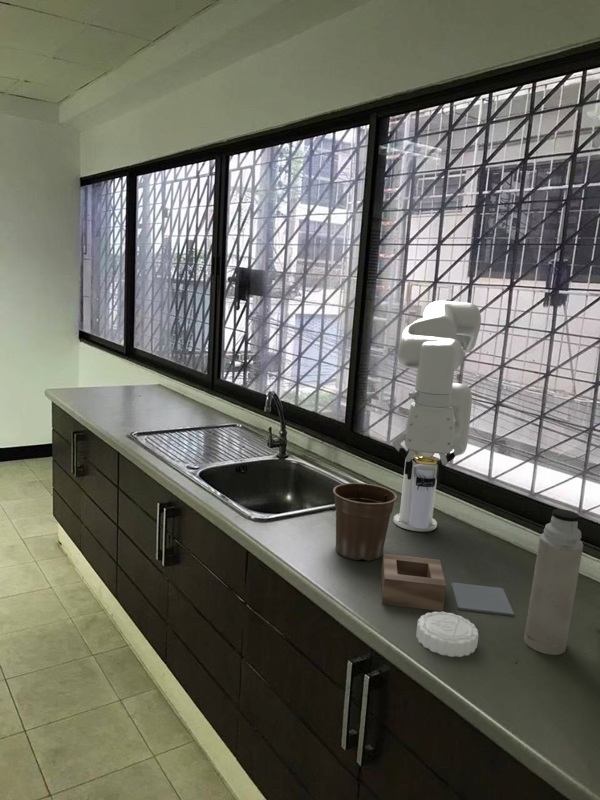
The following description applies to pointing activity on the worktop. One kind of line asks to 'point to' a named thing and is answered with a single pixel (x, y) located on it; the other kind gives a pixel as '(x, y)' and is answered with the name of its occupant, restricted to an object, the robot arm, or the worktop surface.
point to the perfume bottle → (422, 489)
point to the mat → (481, 599)
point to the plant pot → (362, 519)
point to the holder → (412, 582)
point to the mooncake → (447, 634)
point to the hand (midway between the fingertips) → (423, 478)
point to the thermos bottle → (554, 584)
